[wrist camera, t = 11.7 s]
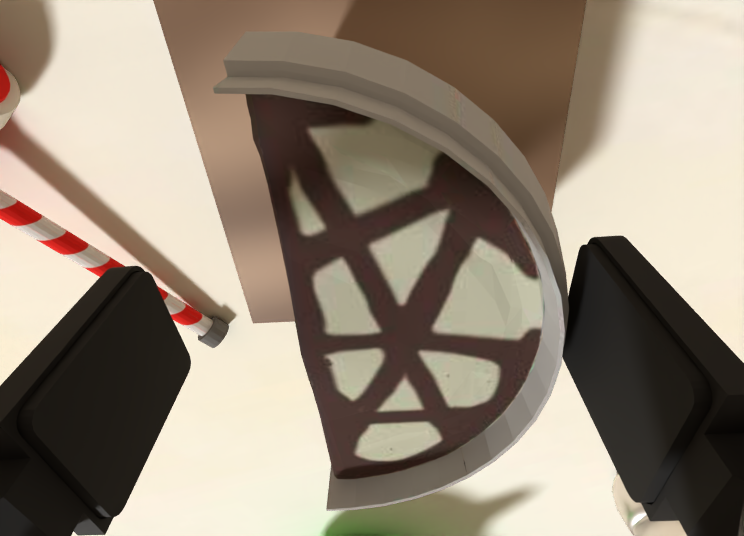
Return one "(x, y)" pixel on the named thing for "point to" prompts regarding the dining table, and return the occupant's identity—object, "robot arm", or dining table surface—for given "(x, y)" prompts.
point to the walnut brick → (387, 34)
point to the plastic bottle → (641, 515)
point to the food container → (403, 262)
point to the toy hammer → (3, 99)
